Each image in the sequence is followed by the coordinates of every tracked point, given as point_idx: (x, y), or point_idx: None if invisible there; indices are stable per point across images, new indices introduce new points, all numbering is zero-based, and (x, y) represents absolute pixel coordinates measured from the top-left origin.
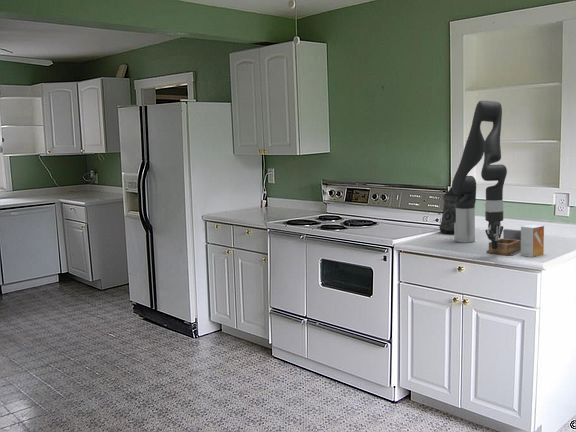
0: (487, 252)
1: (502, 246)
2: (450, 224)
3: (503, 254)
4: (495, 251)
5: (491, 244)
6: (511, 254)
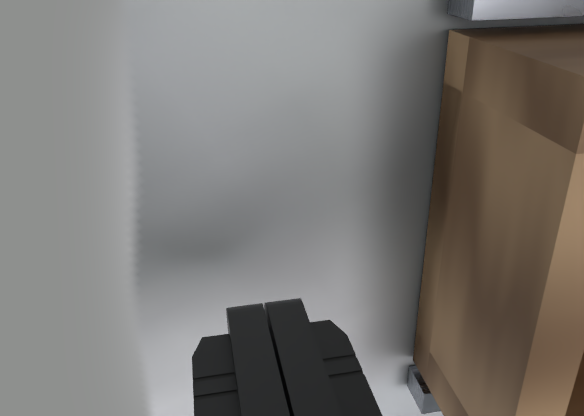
0: (455, 5)
1: (489, 361)
2: None
3: (424, 286)
4: (453, 179)
5: (547, 144)
6: (417, 394)
